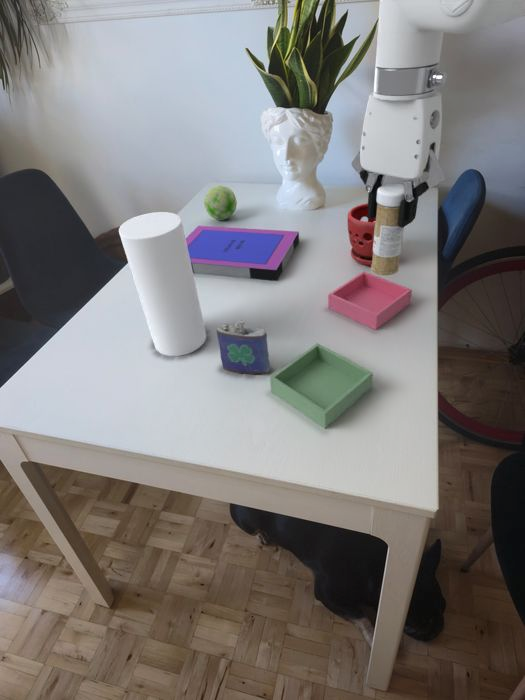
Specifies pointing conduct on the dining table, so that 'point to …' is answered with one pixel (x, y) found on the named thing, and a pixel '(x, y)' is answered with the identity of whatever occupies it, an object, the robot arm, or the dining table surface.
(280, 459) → the dining table surface
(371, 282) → the pink bin
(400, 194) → the sprinkles bottle
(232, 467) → the dining table surface
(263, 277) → the book
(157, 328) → the tall pillar cylinder
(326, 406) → the green bin
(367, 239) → the flower pot
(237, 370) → the flask
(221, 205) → the decorative ball
